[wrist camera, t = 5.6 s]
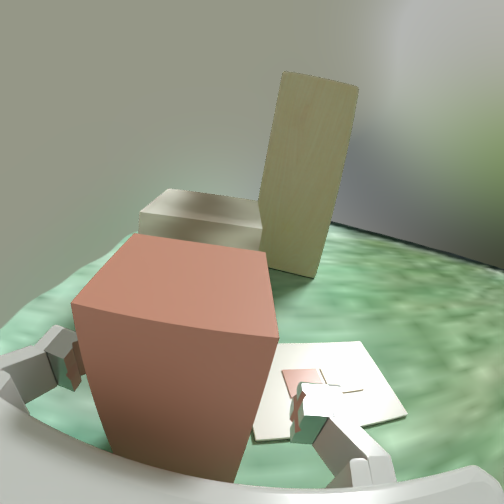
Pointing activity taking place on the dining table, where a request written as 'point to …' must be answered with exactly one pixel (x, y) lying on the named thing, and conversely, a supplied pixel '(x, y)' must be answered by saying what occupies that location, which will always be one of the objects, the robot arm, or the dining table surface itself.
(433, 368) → the dining table surface
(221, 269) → the tall brick
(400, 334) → the dining table surface
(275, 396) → the page
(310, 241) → the tall beige pillar
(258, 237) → the tower base
